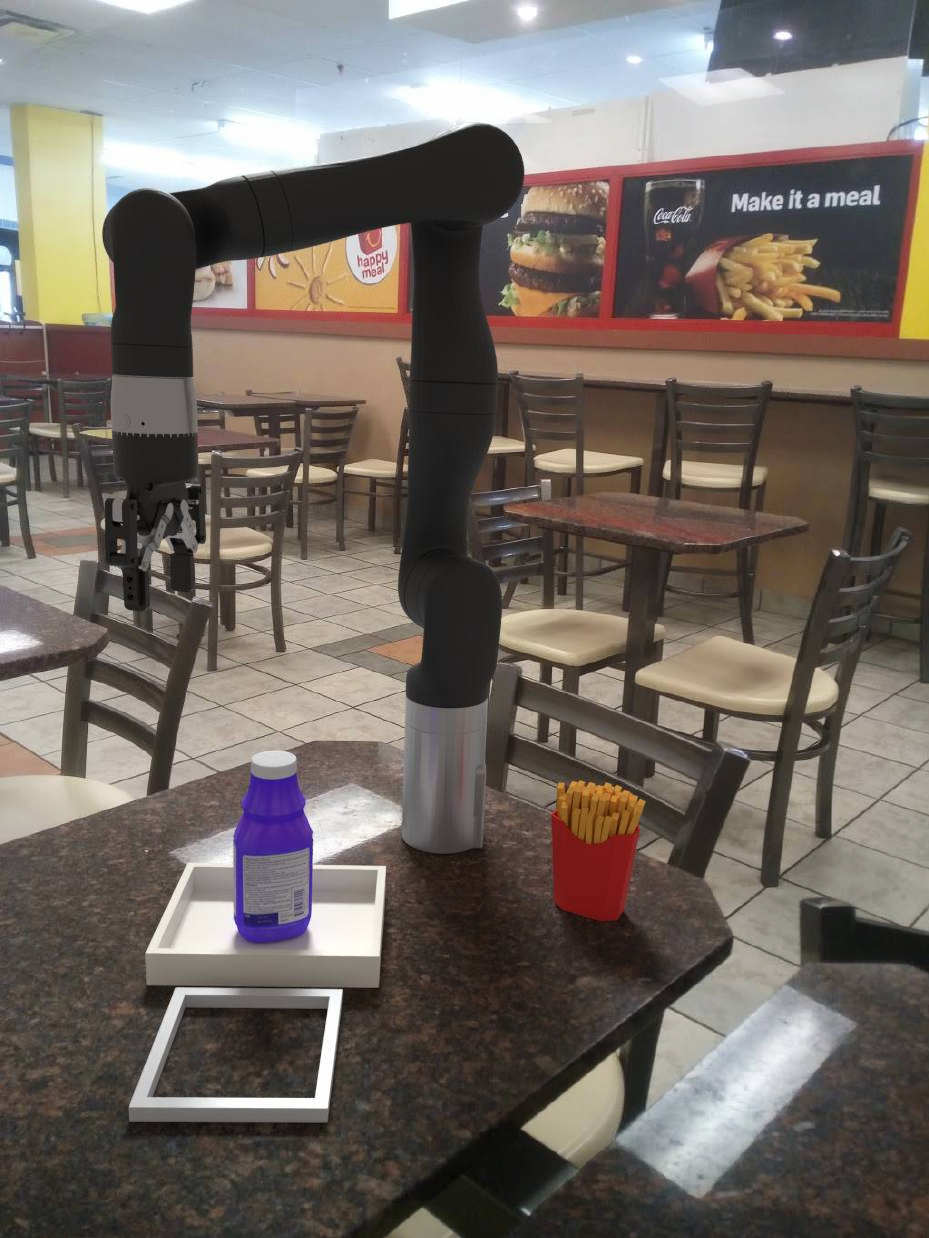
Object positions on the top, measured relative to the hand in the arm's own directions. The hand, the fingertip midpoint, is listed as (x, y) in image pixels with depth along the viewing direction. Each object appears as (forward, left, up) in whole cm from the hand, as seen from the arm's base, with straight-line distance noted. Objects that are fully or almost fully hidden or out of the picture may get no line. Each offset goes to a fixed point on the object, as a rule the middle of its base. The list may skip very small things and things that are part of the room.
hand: (161, 600), depth 95 cm
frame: (-12, +26, -30) cm, 42 cm away
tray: (-12, +9, -30) cm, 34 cm away
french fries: (-43, +3, -30) cm, 53 cm away
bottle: (-12, +9, -30) cm, 33 cm away
